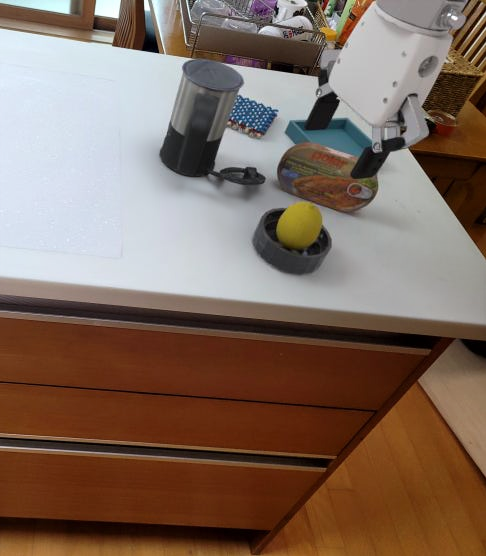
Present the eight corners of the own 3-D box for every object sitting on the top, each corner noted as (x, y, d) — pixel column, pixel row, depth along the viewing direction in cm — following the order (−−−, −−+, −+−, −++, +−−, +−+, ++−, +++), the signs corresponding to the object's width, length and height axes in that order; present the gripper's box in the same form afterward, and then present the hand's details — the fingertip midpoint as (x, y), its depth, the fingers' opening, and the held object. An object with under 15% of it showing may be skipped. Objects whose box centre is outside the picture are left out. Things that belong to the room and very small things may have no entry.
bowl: (296, 222, 82) (305, 204, 80) (334, 270, 76) (346, 252, 73) (239, 230, 79) (247, 211, 76) (274, 280, 73) (285, 262, 70)
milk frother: (155, 140, 91) (176, 54, 80) (243, 148, 94) (276, 66, 83) (169, 195, 82) (195, 105, 71) (267, 201, 84) (307, 116, 74)
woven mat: (224, 97, 106) (228, 88, 104) (276, 118, 103) (280, 108, 102) (206, 119, 99) (209, 109, 97) (261, 142, 96) (265, 132, 95)
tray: (341, 128, 105) (347, 117, 103) (381, 167, 97) (388, 155, 96) (284, 132, 100) (289, 120, 98) (321, 172, 93) (328, 160, 91)
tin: (268, 186, 87) (289, 141, 81) (271, 176, 90) (292, 131, 84) (361, 219, 85) (389, 176, 79) (362, 208, 87) (389, 165, 81)
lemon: (314, 254, 77) (340, 211, 71) (288, 266, 74) (313, 222, 69) (286, 230, 80) (309, 186, 74) (260, 241, 77) (282, 196, 71)
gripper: (512, 47, 49) (406, 195, 62) (391, -28, 60) (321, 112, 72) (453, 45, 47) (355, 200, 59) (337, -33, 57) (274, 113, 70)
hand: (336, 151), depth 66 cm, fingers open, 9 cm apart
